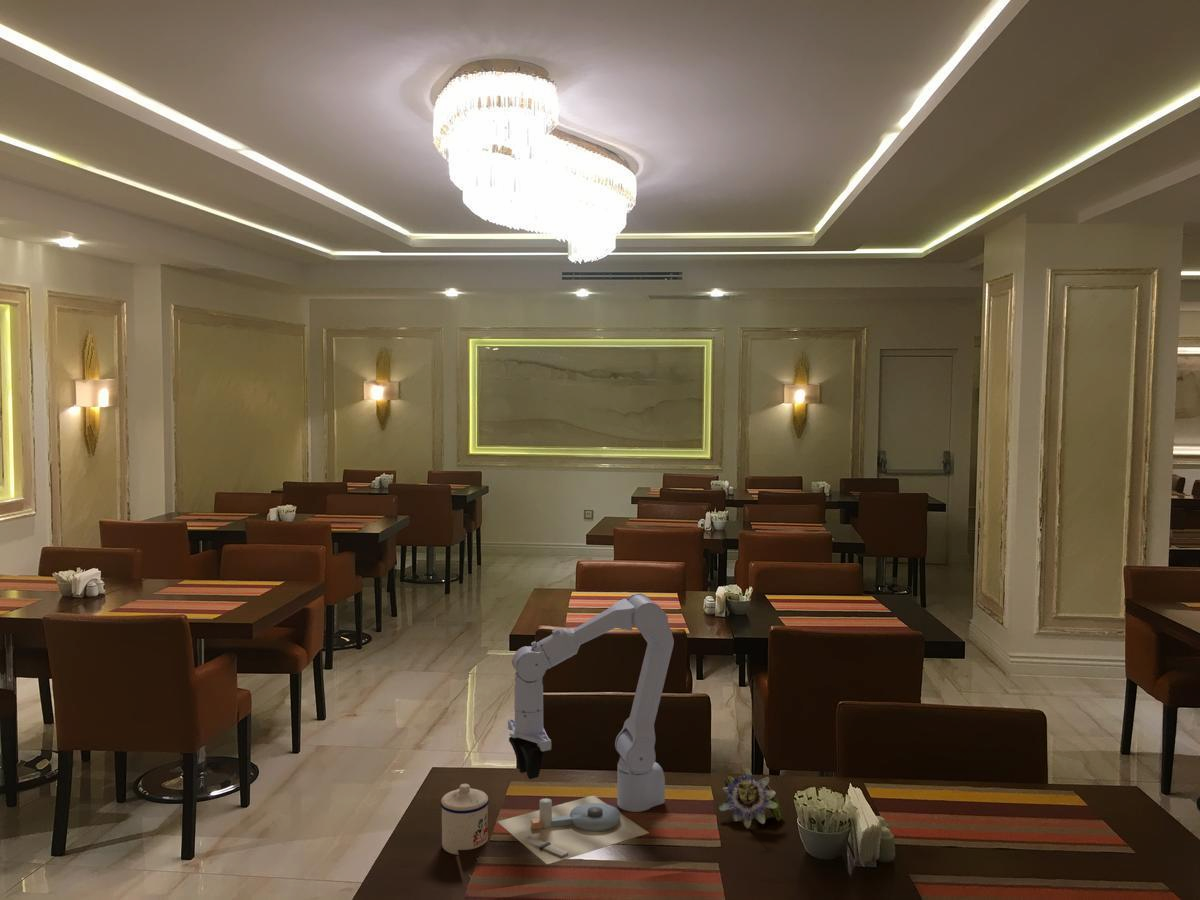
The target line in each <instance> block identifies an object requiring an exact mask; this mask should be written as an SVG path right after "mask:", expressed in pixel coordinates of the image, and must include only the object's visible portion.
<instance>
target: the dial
mask: <svg viewBox="0 0 1200 900" xmlns="http://www.w3.org/2000/svg"><path fill="white" fill-rule="evenodd" d="M538 802H539V804H538V805H539V809H538V810H539V818H537V819H531V826H532V829H533V830H535V829H548V828H551V827H558V826H566V825H573V826H574V827H575V828H577V829H580V830H584V831H590V832H601V831H607V830H610V829H613V828H615V827H616V826H618V825H619V823H620V813H621V812H620V810H619V809H618V808H617V807H616V806H613V805H611V804H607V803H606V804H602V803H588V804H583V805H580V806H577V807H575V808H574V809H572V810H571V812H570V815H568V816H560V817H552V806H553V805H552V804H553V802H552V799H551V798H547V797H546V798H541V799H540V800H539V801H538Z"/></svg>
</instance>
